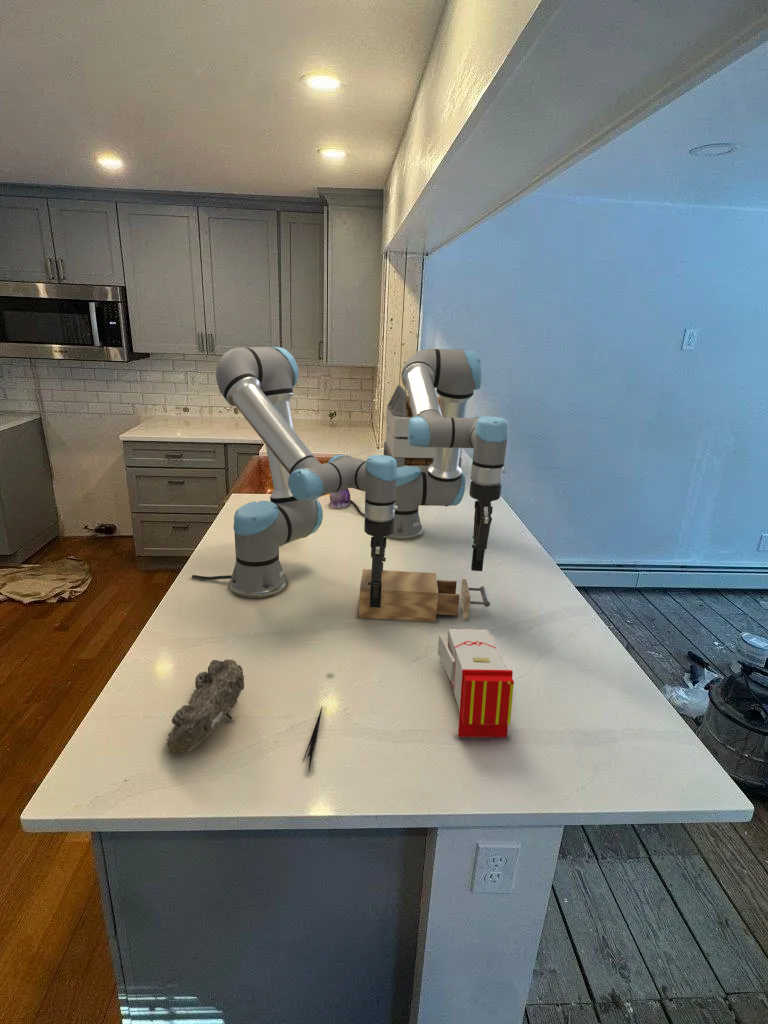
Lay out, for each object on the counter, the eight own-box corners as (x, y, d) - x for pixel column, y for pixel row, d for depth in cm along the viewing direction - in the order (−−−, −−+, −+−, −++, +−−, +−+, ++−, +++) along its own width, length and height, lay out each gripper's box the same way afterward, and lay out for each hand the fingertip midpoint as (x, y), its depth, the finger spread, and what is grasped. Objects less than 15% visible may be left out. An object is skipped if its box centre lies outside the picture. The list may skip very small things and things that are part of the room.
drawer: (483, 601, 154) (486, 580, 152) (489, 620, 145) (491, 598, 142) (396, 596, 154) (397, 575, 152) (396, 615, 145) (397, 592, 143)
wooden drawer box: (433, 600, 155) (435, 573, 152) (435, 621, 145) (438, 592, 142) (362, 596, 156) (362, 569, 153) (358, 617, 145) (359, 588, 142)
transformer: (382, 463, 289) (386, 382, 275) (445, 464, 293) (451, 384, 279) (390, 482, 257) (394, 392, 243) (460, 483, 261) (468, 394, 247)
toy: (488, 613, 130) (523, 677, 101) (484, 667, 133) (517, 744, 104) (435, 612, 130) (455, 676, 101) (432, 666, 133) (451, 743, 103)
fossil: (192, 660, 117) (244, 628, 112) (224, 691, 120) (276, 661, 115) (142, 746, 98) (202, 712, 93) (182, 779, 101) (242, 748, 96)
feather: (331, 679, 122) (336, 673, 122) (307, 777, 96) (313, 769, 95) (324, 675, 122) (329, 669, 121) (298, 772, 95) (304, 764, 95)
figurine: (333, 510, 219) (334, 473, 214) (323, 502, 227) (324, 466, 222) (355, 507, 223) (356, 471, 218) (345, 500, 232) (346, 464, 227)
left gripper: (393, 536, 130) (389, 619, 138) (395, 502, 153) (391, 575, 160) (361, 534, 130) (358, 617, 138) (367, 501, 153) (365, 574, 160)
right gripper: (506, 490, 131) (495, 582, 139) (497, 475, 144) (487, 559, 152) (473, 489, 131) (464, 580, 139) (467, 473, 144) (459, 558, 152)
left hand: (376, 595), depth 149 cm, fingers open, 11 cm apart
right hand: (476, 569), depth 145 cm, fingers closed
